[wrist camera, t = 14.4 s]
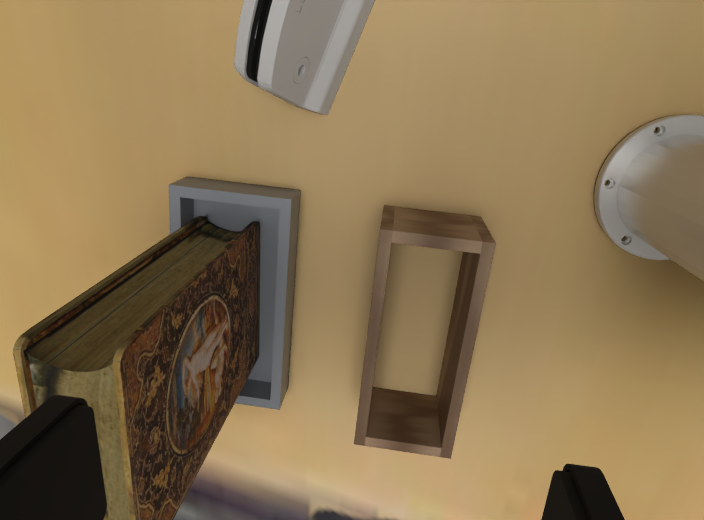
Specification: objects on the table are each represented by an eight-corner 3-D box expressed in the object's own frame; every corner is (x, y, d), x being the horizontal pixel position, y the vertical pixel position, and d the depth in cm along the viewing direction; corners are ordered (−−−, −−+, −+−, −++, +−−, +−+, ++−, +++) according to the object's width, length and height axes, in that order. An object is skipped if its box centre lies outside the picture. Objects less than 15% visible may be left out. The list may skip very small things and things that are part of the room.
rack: (480, 216, 46) (495, 243, 38) (444, 405, 53) (450, 458, 46) (384, 205, 47) (380, 229, 39) (360, 393, 54) (354, 444, 46)
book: (259, 366, 53) (143, 594, 29) (209, 360, 53) (55, 580, 30) (260, 217, 47) (118, 351, 24) (204, 211, 47) (10, 338, 24)
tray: (300, 190, 47) (291, 199, 43) (288, 387, 54) (279, 409, 51) (187, 176, 47) (168, 184, 44) (190, 373, 55) (175, 394, 51)
